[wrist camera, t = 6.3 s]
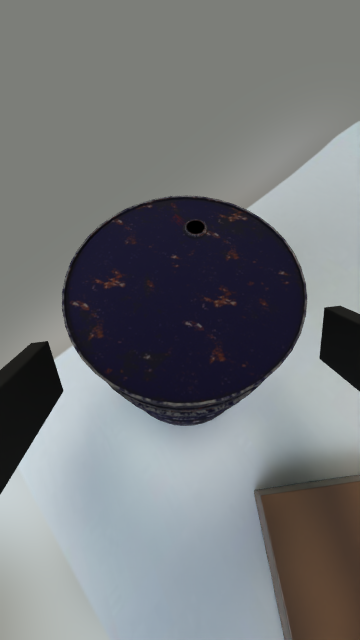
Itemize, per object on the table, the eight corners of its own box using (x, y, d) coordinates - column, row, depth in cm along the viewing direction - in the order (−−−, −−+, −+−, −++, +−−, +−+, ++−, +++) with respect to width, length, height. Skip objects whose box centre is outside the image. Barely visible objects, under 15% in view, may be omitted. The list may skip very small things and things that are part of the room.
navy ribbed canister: (231, 439, 21) (311, 442, 8) (119, 414, 22) (12, 377, 9) (243, 331, 25) (309, 206, 12) (147, 314, 26) (106, 182, 13)
